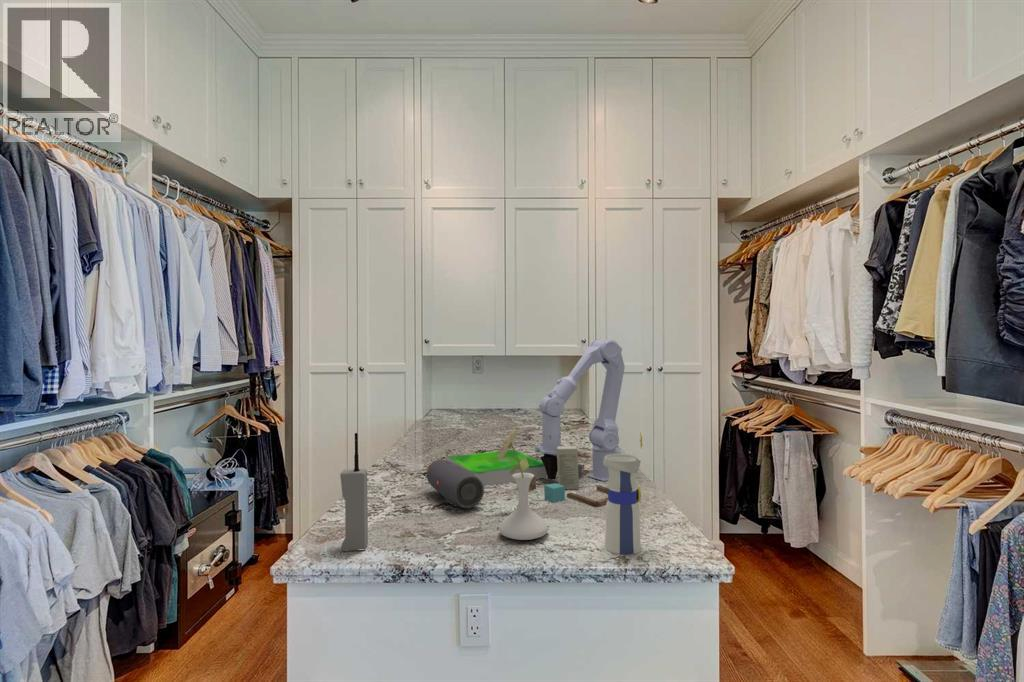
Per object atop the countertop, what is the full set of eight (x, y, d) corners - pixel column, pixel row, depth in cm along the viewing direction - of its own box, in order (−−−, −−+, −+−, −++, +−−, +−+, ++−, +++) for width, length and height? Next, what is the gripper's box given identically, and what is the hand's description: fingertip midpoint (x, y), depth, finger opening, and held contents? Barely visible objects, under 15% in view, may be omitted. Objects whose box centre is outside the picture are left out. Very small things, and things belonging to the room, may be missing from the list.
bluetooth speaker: (424, 493, 161) (424, 459, 161) (454, 489, 166) (454, 455, 165) (452, 515, 141) (452, 476, 141) (486, 510, 145) (485, 472, 145)
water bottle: (636, 539, 124) (636, 427, 123) (647, 554, 115) (646, 434, 115) (600, 539, 123) (599, 427, 123) (608, 555, 115) (607, 434, 115)
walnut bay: (600, 489, 164) (600, 485, 164) (629, 498, 154) (629, 494, 154) (566, 496, 156) (566, 493, 156) (595, 507, 147) (595, 503, 147)
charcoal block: (573, 474, 182) (573, 462, 182) (581, 476, 178) (581, 464, 178) (564, 476, 179) (564, 464, 179) (572, 478, 176) (572, 466, 176)
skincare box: (578, 485, 168) (578, 445, 167) (578, 489, 163) (578, 448, 163) (557, 485, 168) (557, 445, 168) (557, 489, 164) (556, 448, 164)
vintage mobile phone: (344, 545, 121) (343, 431, 121) (367, 544, 122) (366, 431, 122) (341, 551, 118) (339, 434, 117) (364, 550, 118) (363, 434, 118)
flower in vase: (519, 523, 135) (518, 420, 134) (558, 534, 127) (557, 425, 127) (483, 539, 124) (482, 428, 124) (523, 551, 117) (522, 433, 117)
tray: (447, 471, 189) (447, 456, 189) (513, 463, 200) (513, 449, 200) (473, 489, 166) (473, 472, 166) (547, 479, 177) (546, 464, 177)
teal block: (555, 497, 156) (555, 483, 156) (564, 500, 153) (564, 486, 153) (544, 499, 154) (544, 485, 154) (553, 503, 151) (553, 488, 151)
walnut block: (527, 487, 167) (527, 473, 167) (535, 490, 164) (535, 476, 164) (517, 489, 165) (517, 475, 165) (525, 492, 161) (525, 478, 161)
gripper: (527, 433, 175) (527, 476, 175) (556, 440, 163) (556, 486, 164) (544, 431, 179) (544, 472, 180) (574, 437, 168) (574, 482, 168)
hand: (551, 479), depth 172 cm, fingers closed
